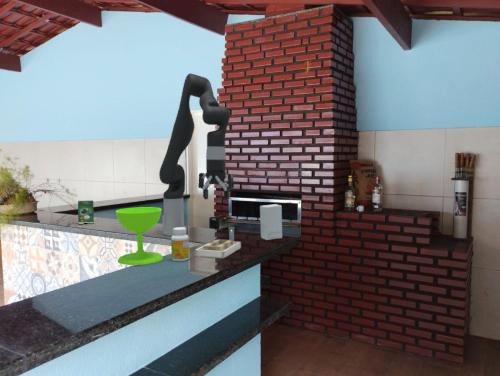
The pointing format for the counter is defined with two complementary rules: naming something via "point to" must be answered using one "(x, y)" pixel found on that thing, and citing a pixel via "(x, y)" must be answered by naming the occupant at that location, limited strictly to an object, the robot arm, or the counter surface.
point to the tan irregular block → (218, 245)
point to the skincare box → (271, 221)
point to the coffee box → (85, 211)
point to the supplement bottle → (180, 244)
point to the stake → (231, 233)
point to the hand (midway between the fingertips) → (215, 199)
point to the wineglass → (139, 232)
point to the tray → (217, 254)
